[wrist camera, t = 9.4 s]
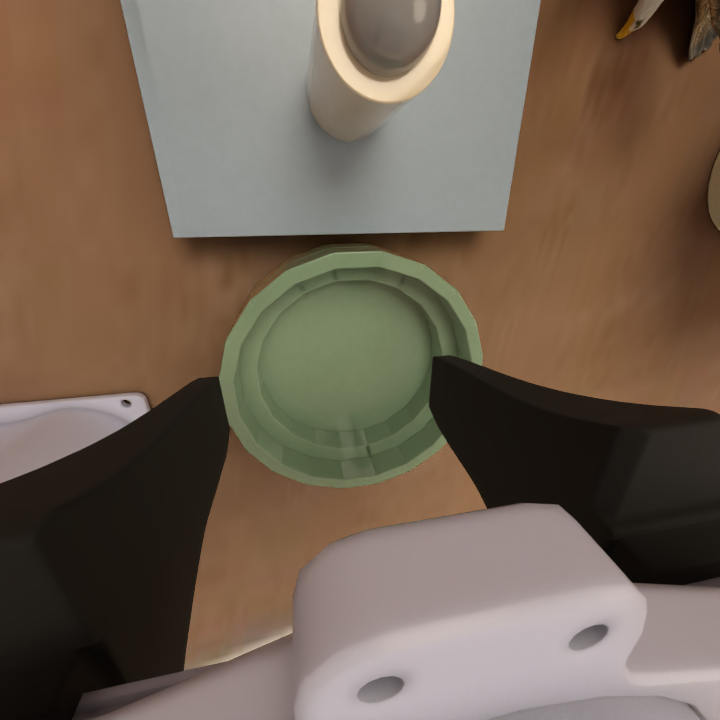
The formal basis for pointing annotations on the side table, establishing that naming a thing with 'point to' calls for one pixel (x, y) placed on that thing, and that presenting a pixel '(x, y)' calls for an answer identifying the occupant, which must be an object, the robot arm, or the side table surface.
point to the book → (305, 136)
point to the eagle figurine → (713, 17)
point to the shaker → (373, 60)
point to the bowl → (343, 364)
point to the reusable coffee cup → (715, 193)
